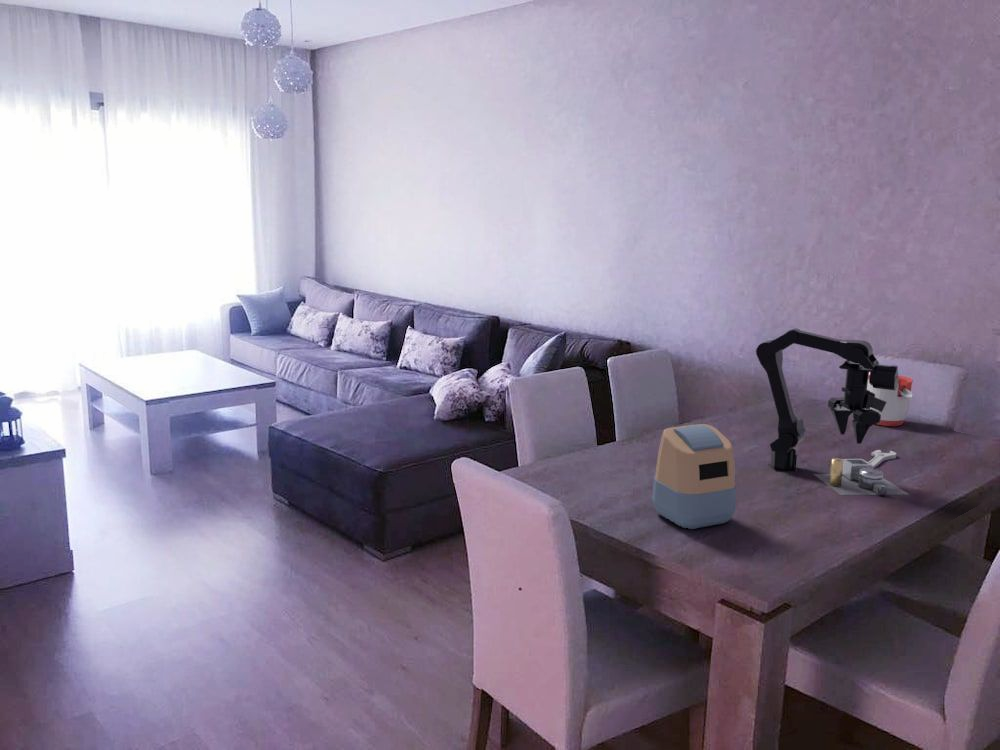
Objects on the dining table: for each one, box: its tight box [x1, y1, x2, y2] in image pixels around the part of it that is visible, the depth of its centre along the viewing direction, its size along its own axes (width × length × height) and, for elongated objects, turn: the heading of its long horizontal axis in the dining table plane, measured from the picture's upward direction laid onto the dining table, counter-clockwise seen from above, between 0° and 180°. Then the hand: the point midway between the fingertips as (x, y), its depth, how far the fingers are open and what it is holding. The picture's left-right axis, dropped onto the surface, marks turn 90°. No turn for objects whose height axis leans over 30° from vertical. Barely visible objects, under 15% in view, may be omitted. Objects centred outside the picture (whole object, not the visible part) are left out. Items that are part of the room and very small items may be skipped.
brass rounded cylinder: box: [829, 457, 844, 487], centre depth 227 cm, size 3×3×8 cm
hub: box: [858, 468, 884, 491], centre depth 225 cm, size 6×6×5 cm
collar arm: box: [842, 458, 888, 496], centre depth 227 cm, size 20×6×4 cm, turn 2°
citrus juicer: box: [867, 374, 914, 427], centre depth 294 cm, size 16×17×20 cm
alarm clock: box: [651, 423, 737, 530], centre depth 201 cm, size 17×17×23 cm
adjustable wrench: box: [867, 449, 897, 469], centre depth 249 cm, size 25×6×2 cm, turn 135°
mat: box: [813, 473, 909, 496], centre depth 229 cm, size 19×18×1 cm
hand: (850, 438), depth 230 cm, fingers open, 9 cm apart
